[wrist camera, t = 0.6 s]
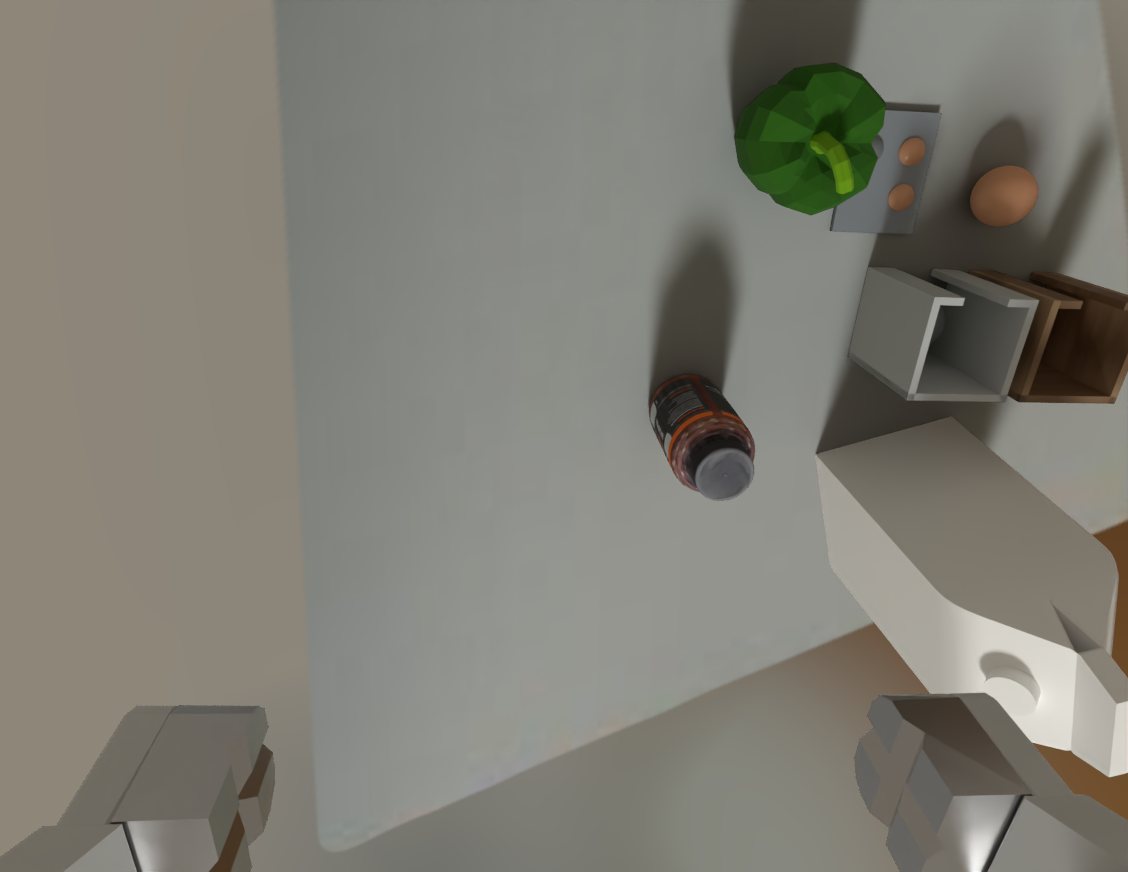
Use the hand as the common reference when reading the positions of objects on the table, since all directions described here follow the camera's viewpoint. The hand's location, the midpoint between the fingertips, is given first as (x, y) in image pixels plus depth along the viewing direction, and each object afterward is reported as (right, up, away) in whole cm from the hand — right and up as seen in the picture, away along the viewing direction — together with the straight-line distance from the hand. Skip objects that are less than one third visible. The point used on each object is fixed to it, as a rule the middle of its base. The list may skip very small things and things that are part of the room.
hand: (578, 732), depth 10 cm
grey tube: (+26, +13, +45) cm, 53 cm away
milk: (+28, -1, +52) cm, 59 cm away
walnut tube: (+34, +13, +45) cm, 58 cm away
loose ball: (+30, +21, +41) cm, 55 cm away
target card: (+22, +22, +40) cm, 51 cm away
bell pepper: (+14, +24, +39) cm, 48 cm away
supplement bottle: (+9, +6, +47) cm, 48 cm away
